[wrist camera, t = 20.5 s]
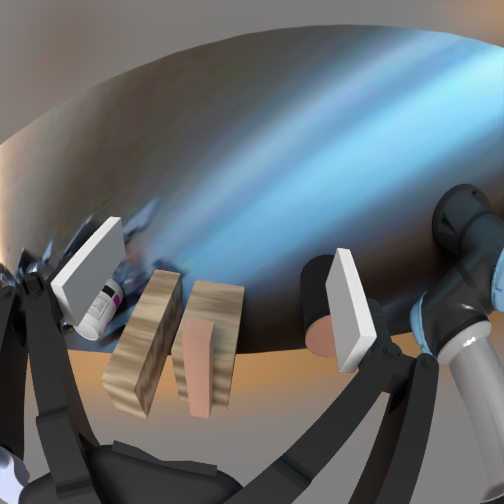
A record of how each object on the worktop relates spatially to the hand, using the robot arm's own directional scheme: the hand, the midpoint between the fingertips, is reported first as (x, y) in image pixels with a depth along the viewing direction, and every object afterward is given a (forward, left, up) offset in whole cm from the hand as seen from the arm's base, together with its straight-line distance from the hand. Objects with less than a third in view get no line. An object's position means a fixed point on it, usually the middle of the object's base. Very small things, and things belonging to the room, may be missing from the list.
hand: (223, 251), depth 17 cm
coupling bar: (-18, +33, -15) cm, 40 cm away
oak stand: (-17, +40, -35) cm, 55 cm away
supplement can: (+4, +52, -35) cm, 63 cm away
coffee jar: (-29, +11, -35) cm, 47 cm away
